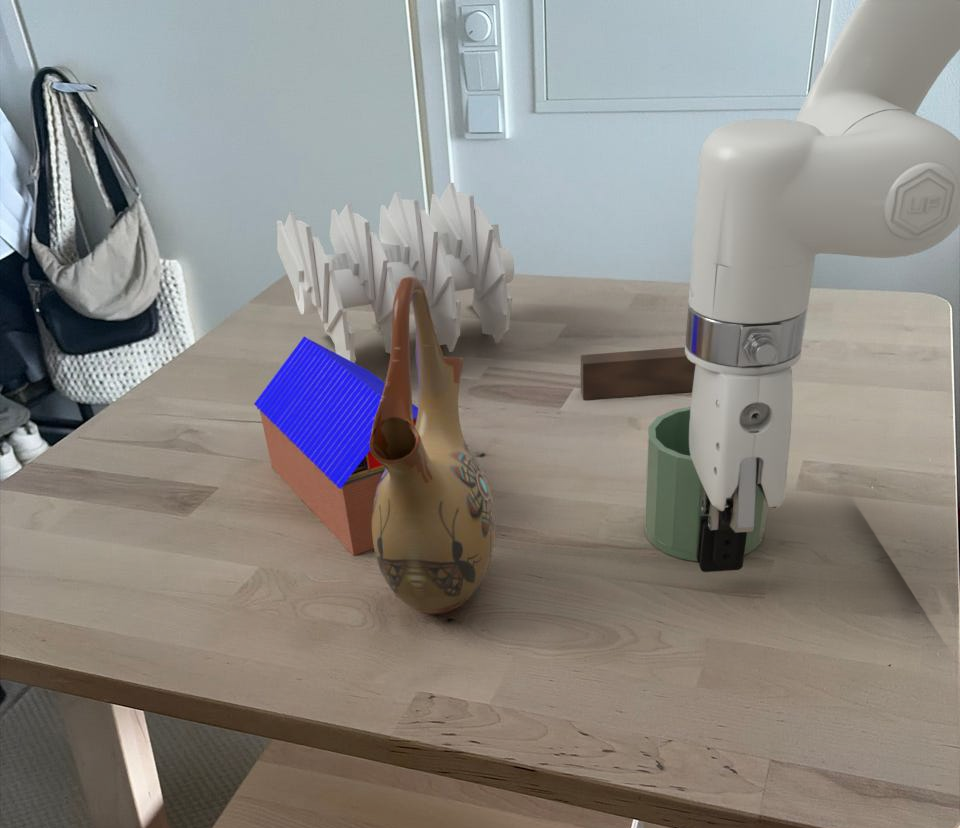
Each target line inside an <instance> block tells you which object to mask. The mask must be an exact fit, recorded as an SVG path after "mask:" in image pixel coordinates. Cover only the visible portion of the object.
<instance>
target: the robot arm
mask: <svg viewBox="0 0 960 828" xmlns="http://www.w3.org/2000/svg"><path fill="white" fill-rule="evenodd" d="M959 51H960V0H861V1H860V2H859V4H858V5H857V7H855V9H854V11H853V12H852V13H851V16H850V17H849V19H848V20H847V21H846V23H845V25H844V26H843V28H842V30H841V31H840V33H839V35H838V37H837V38H836V40H835V41H834V44H833V45H832V47H831V49H830V51H829V53H828V54H827V57H826V58H825V60H824V63H823V64H822V66H821V68H820V70H819V72H818V73H817V76H816V78H815V80H814V82H813V83H812V85H811V87H810V89H809V91H808V93H807V95H806V96H805V99H804V101H803V103H802V105H801V107H800V109H799V112H798V114H797V116H796V119H795V120H792V119H784V118H753V119H745V120H737V121H733V122H730V123H726V124H724V125H721V126H719V127H717V128H715V129H714V130H712V132H710V133H709V134H708V135H707V137H706V138H705V140H704V141H703V144H702V146H701V150H700V154H699V159H698V168H697V182H696V196H695V208H694V209H695V210H694V221H693V237H692V248H691V249H692V250H691V262H690V277H689V288H688V289H689V290H688V304H687V317H686V318H687V319H686V330H685V331H686V332H685V343H684V344H685V345H684V347H685V355H686V357H687V358H688V359H689V360H690V361H691V362H692V363H694V364H695V365H696V366H695V373H694V381H693V390H692V392H691V401H690V406H691V410H690V422H689V450H690V455H691V459H692V461H693V464H694V466H695V469H696V471H697V473H698V476H699V478H700V480H701V483H702V497H701V510H702V514H703V515H704V514H708V516H700V523H699V534H698V545H697V556H696V558H697V561H696V562H697V563H698V566H699V568H700V571H701V572H703V573H714V572H729V571H739V570H741V569H742V568H743V567H744V559H745V555H744V552H745V544H746V536H747V532H753V530H754V519H755V499H756V485H757V486H758V487H759V489H760V491H761V493H762V495H763V497H764V499H765V501H766V503H767V505H768V508H771V507H772V508H774V509H778V508H779V507H781V506H782V504H784V501H785V495H786V486H787V478H788V469H789V468H788V467H789V457H790V456H789V454H790V448H791V447H790V445H791V435H792V422H793V421H792V420H793V419H792V418H793V396H794V394H793V393H794V392H793V391H794V390H793V370H792V367H793V366H795V365H796V364H797V363H798V362H799V361H800V359H801V357H802V349H803V342H804V335H805V330H806V329H805V328H806V322H807V315H808V307H809V302H810V295H811V289H812V281H813V276H814V269H815V268H814V267H815V262H816V256H817V255H820V254H824V255H838V256H839V255H841V256H849V257H850V256H851V257H852V256H853V257H862V258H874V259H875V258H876V259H894V258H895V259H896V258H902V257H903V258H904V257H908V256H913V255H915V254H920V253H923V252H925V251H927V250H929V249H931V248H933V247H935V246H937V245H938V244H941V242H943V241H944V240H946V239H947V238H948V237H949V236H950V235H951V234H952V233H954V232H955V231H956V230H957V228H958V227H959V226H960V139H959V137H957V136H956V135H955V134H954V133H952V132H951V131H950V130H948V129H946V128H945V127H943V126H941V125H939V124H938V123H935V122H933V121H932V120H929V119H928V118H927V119H926V118H924V117H922V116H921V115H918V114H916V113H917V112H918V110H919V108H920V107H921V105H922V103H923V101H924V100H925V98H926V97H927V95H928V93H929V92H930V90H931V88H932V87H933V85H934V84H935V82H936V81H937V79H938V77H939V76H940V75H941V74H942V72H943V71H944V70H945V68H946V67H947V66H948V64H949V63H950V62H951V61H952V60H953V58H954V57H955V56H956V55H957V53H958V52H959Z"/></svg>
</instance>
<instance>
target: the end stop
mask: <svg viewBox="0 0 960 828" xmlns="http://www.w3.org/2000/svg"><path fill="white" fill-rule="evenodd" d="M695 366H696V365H695V364H694V363H692V362H691V361H690V360H689V359H688V358H687V357H686V355H685V346H684V347H682V346H681V347H669V348H657V349H644V350H643V349H642V350H631V351H630V350H628V351H616V352H615V351H614V352H604V353H590V354H580V392H581V393H580V394H581V397H582V400H583V401H586V400H587V401H588V400H589V401H590V400H601V399H614V398H628V397H629V398H630V397H642V396H652V395H653V396H654V395H668V394H683V393H692V390H693V381H694V373H695Z"/></svg>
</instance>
